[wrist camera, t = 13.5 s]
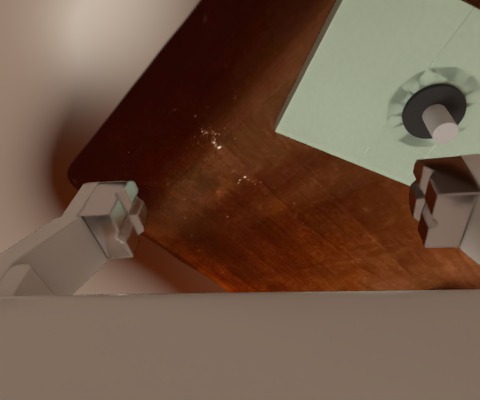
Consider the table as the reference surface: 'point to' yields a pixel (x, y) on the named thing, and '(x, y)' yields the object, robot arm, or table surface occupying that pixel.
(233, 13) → the table surface
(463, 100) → the stopper
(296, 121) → the drain plate
